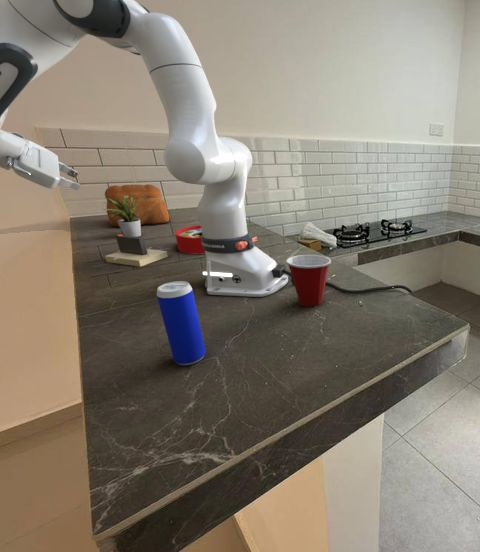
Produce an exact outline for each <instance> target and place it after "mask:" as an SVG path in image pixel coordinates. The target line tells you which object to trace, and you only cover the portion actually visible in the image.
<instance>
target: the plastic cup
mask: <svg viewBox="0 0 480 552" xmlns="http://www.w3.org/2000/svg"><path fill="white" fill-rule="evenodd" d="M331 259H332V258H329V256H328V257H327V256H324V255H321V254H300V255H299V254H298V255H294V256H290V257H288V258H287V259H286V265H288V267H289V270H290V271H289V272H291V274H292V277H293V281H294V284H293V286H294V290H295V293H296V294H297V299H298V302H299V304H300V306H302V307H306V308H313V307H317V306H320V305H321V304H323V300H324V295H325V294H324V293H325V289H326V285H325V283H326V282H327V276H328V273H329V271H328V270H329V268H330V267H329V266H330V264H332V260H331Z"/></svg>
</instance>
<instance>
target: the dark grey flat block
mask: <svg viewBox="0 0 480 552" xmlns="http://www.w3.org/2000/svg"><path fill="white" fill-rule="evenodd" d="M115 239H116V242H117V246H118V250H119V252H123V253H130V254H137V255H146V254H148V253H147V249H148V248H147V245H146V242H145V237H141V236H138V237H134V236H126V235H124V234H123V233H122V234H121V233H120V234H116V235H115Z"/></svg>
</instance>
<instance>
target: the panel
mask: <svg viewBox="0 0 480 552" xmlns="http://www.w3.org/2000/svg"><path fill="white" fill-rule="evenodd" d="M152 248H153V246H150V247H148V248H146V249H147V253H148V254H146V255H137V254H130V253H123V252H120V249H118V250H117V251H116V252H113V253H111V254H107V255H104V258H105V262H106V263H112V264H120V265H127V266H132V267H133V266H134V267H144V266H146V265H150V264H152V263H155V262H157V261H160V260H163V259H166V258H168V257H169V255H168V251H167V250H161V249H152Z"/></svg>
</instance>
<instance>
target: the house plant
mask: <svg viewBox="0 0 480 552" xmlns="http://www.w3.org/2000/svg"><path fill="white" fill-rule="evenodd" d="M128 197H129V196H128V195H127V196H126V197H125V196H124V200H123V203H124V206H123V204H122V203H121V202H120V201H119V200H118V199H116V198H115V200H116V201H117V202H115V201H113V200H111V199H109V200H111V201H112V202H113V203H114V204H115V207H116V206H117V207H118V209H119V210H117V209H116V208H115V209H107V208H106V209H105V208H103V209H102V210H104V211H107V210H110V211H112V212H115V213H116V214H113V213H112V216H111V215H109V216H111V217H113V216H115V215H116V216H117V215H118V217H119V216H120V218H121V217H122V218H123V219H122V218H121V219H122V220H118V221H117V222H118V224H119V226H120V227H119V228H120V231H121V232H122V235H126V236H134V237H141V236H142V229H141V226H142V225H140V219H136V218H135V216H137V215H134V209H135V207H136V206H137V204H138V203H139V202H140V201H139V202H138V203H137V204H136V205H135V207H134V204H135V202H136V201H135V199H134V202H133V203H132V197H131V201H130V207H128ZM107 199H108V198H107ZM107 199H106V200H107ZM104 204H107V201H104ZM108 205H109V204H108ZM111 205H112V204H111ZM111 205H110V206H111ZM113 206H114V205H113ZM113 206H112V207H113ZM113 208H114V207H113ZM141 210H146V209H141ZM139 211H140V210H139ZM137 212H138V211H137ZM137 212H136V213H137ZM110 213H111V212H110ZM118 213H119V214H118ZM120 213H122V214H123V215H124V216H123V215H122V214H120ZM136 213H135V214H136ZM109 216H108V215H107V217H109Z"/></svg>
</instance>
